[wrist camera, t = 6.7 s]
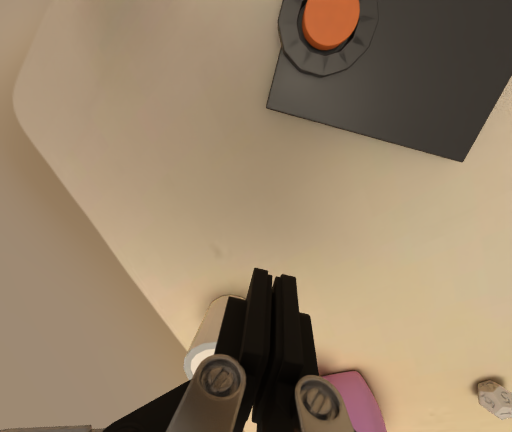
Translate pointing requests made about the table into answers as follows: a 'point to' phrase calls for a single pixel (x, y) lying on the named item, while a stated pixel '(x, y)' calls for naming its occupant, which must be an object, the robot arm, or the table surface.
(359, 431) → the teapot
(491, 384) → the game die
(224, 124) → the table surface
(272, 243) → the table surface
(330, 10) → the button
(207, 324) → the beige cup
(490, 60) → the scale
